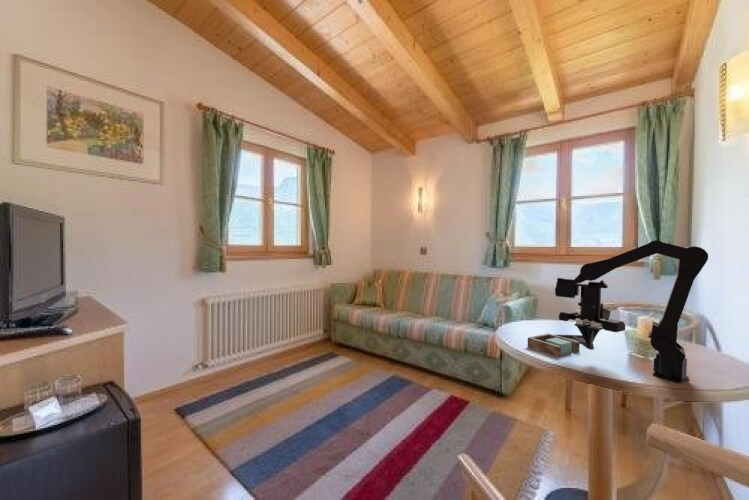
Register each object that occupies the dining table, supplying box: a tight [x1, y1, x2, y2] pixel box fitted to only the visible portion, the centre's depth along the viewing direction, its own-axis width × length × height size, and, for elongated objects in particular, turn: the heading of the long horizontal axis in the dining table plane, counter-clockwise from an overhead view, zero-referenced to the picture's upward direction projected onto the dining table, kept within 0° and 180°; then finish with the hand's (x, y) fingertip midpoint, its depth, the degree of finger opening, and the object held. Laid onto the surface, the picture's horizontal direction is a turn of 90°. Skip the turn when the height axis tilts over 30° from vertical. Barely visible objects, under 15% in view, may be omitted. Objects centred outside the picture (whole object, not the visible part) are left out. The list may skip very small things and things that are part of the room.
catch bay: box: [527, 332, 581, 358], centre depth 123 cm, size 12×12×4 cm
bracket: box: [555, 334, 595, 350], centre depth 131 cm, size 14×15×3 cm
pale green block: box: [546, 338, 572, 356], centre depth 121 cm, size 6×6×4 cm
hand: (589, 345), depth 112 cm, fingers closed
